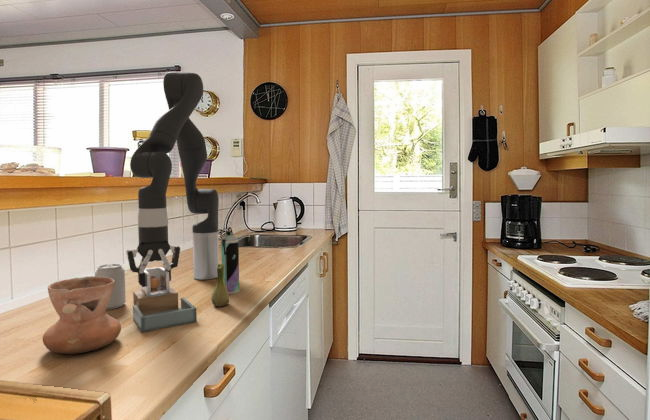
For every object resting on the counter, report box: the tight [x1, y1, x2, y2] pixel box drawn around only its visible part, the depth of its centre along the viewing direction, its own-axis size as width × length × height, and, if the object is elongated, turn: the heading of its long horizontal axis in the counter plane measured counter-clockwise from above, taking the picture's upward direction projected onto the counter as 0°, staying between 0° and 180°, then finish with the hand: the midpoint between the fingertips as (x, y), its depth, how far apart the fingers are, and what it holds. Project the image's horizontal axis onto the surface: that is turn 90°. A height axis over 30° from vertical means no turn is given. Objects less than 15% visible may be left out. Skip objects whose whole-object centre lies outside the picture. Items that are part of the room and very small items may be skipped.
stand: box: [132, 285, 179, 314], centre depth 111 cm, size 9×10×5 cm
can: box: [94, 263, 127, 311], centre depth 114 cm, size 8×8×12 cm
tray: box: [132, 296, 198, 333], centre depth 103 cm, size 12×13×4 cm
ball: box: [150, 278, 160, 289], centre depth 112 cm, size 3×3×3 cm
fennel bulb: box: [211, 263, 230, 307], centre depth 115 cm, size 6×5×12 cm
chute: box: [140, 266, 170, 297], centre depth 111 cm, size 9×6×6 cm, turn 34°
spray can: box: [220, 230, 240, 295], centre depth 129 cm, size 6×6×20 cm
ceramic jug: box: [42, 275, 122, 355], centre depth 86 cm, size 18×14×14 cm
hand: (155, 284), depth 111 cm, fingers closed on chute, 5 cm apart
